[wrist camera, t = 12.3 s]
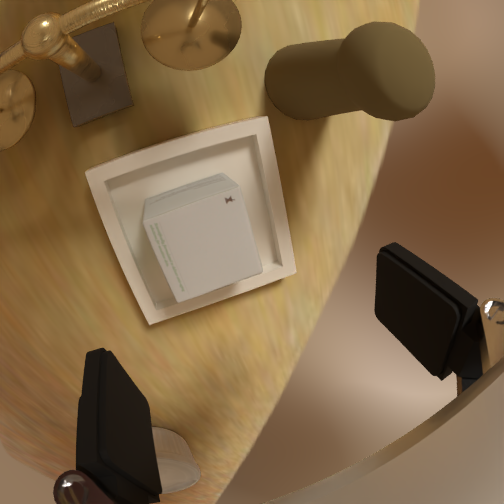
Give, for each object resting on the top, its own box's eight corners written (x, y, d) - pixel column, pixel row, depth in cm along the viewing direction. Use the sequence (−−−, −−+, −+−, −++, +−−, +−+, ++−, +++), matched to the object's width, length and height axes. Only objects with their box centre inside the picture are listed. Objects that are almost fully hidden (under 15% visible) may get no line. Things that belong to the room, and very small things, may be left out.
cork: (330, 128, 22) (441, 148, 13) (257, 110, 20) (350, 108, 10) (343, 59, 20) (455, 45, 10) (273, 34, 18) (369, -15, 8)
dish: (90, 167, 18) (84, 172, 16) (258, 116, 20) (267, 116, 19) (148, 311, 24) (149, 324, 22) (287, 263, 26) (296, 273, 24)
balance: (-15, 89, 13) (-128, 87, 2) (209, 5, 16) (275, -92, 5) (3, 164, 15) (-108, 218, 5) (227, 80, 18) (317, 40, 8)
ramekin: (154, 470, 34) (159, 500, 29) (87, 443, 28) (87, 478, 24) (211, 439, 33) (221, 473, 29) (141, 407, 28) (145, 448, 23)
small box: (142, 198, 19) (139, 220, 15) (223, 169, 20) (244, 183, 16) (170, 270, 22) (177, 307, 18) (244, 243, 23) (267, 273, 19)
